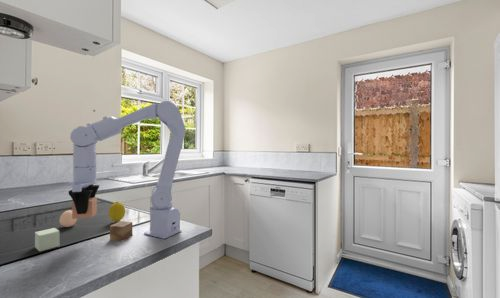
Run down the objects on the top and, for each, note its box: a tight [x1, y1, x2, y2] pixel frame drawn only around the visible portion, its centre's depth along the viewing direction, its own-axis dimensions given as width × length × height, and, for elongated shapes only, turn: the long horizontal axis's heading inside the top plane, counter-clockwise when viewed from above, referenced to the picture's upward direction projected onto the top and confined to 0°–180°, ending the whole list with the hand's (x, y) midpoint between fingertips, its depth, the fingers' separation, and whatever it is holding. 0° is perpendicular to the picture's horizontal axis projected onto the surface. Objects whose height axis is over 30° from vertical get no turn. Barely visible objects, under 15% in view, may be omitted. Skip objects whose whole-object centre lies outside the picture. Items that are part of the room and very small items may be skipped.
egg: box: [59, 209, 78, 228], centre depth 85 cm, size 5×5×6 cm
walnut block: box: [109, 220, 133, 242], centre depth 76 cm, size 4×4×4 cm
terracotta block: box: [71, 196, 98, 220], centre depth 72 cm, size 5×5×5 cm
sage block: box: [34, 227, 61, 252], centre depth 69 cm, size 4×4×4 cm
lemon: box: [108, 201, 126, 223], centre depth 90 cm, size 6×6×8 cm
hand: (85, 211), depth 72 cm, fingers closed on terracotta block, 5 cm apart
